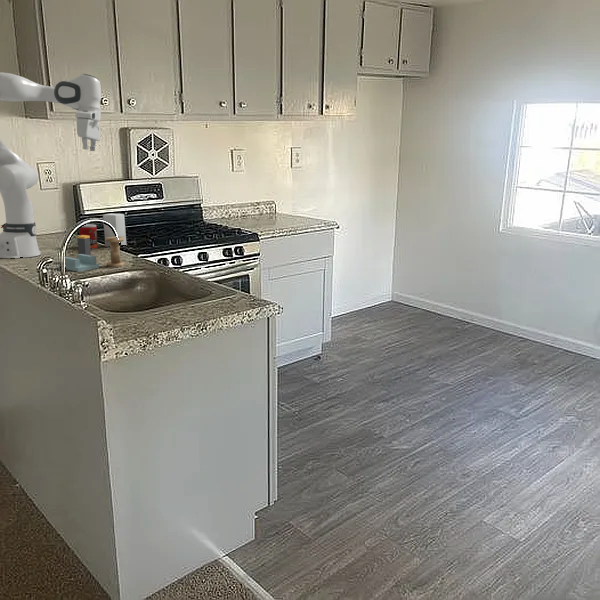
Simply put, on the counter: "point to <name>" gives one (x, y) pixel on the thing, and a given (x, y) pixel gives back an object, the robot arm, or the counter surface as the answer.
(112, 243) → the bobbin
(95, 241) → the canned food
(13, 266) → the counter surface
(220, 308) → the counter surface
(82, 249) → the dark grey cylinder
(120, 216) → the skincare box
